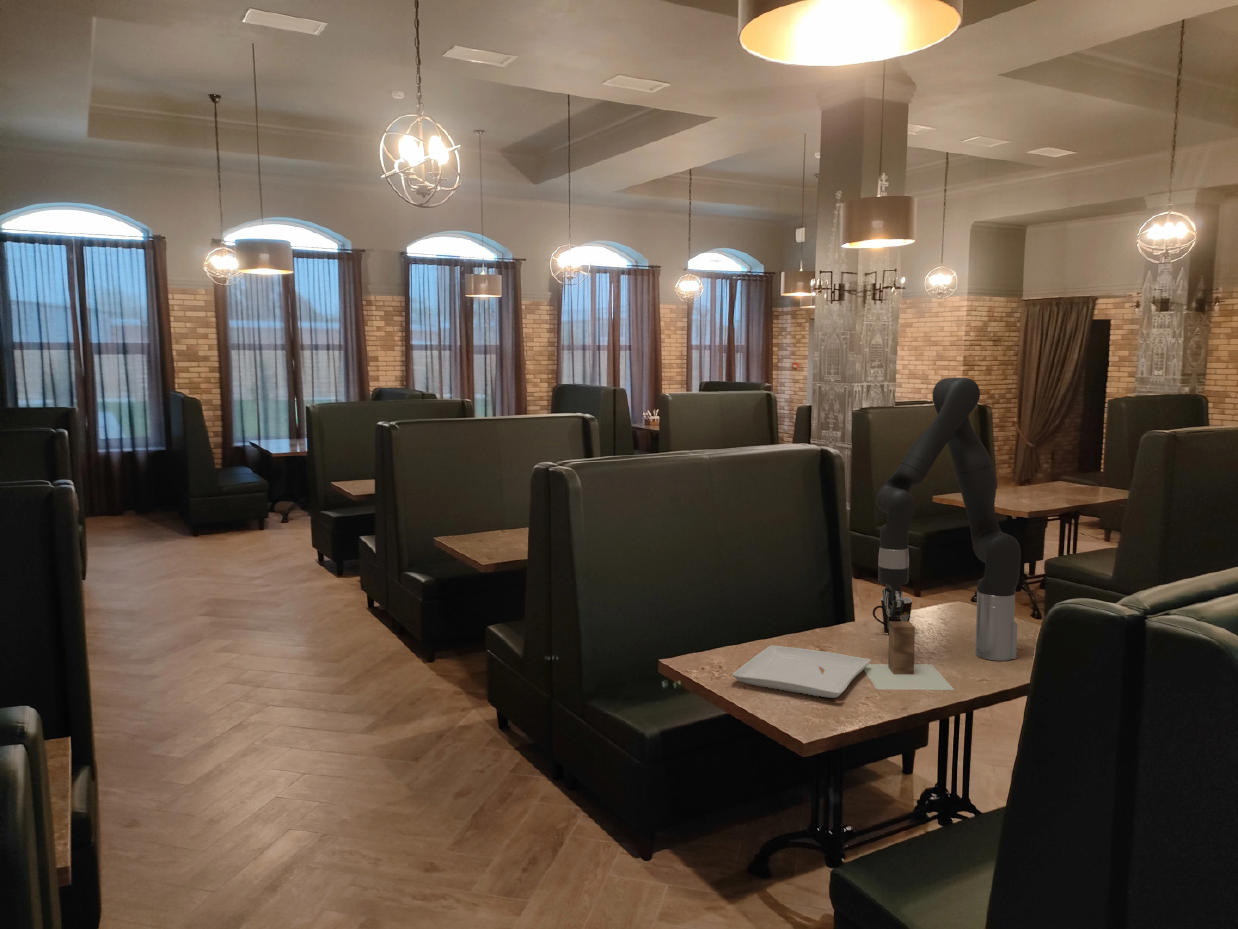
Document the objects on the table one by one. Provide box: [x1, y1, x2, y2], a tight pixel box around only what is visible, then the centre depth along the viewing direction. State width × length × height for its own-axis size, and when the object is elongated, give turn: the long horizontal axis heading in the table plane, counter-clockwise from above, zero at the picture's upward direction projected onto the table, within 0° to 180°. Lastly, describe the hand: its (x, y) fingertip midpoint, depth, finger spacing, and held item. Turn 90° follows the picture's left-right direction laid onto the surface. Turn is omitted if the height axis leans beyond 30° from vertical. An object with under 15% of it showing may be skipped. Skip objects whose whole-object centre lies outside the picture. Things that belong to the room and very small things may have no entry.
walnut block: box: [887, 621, 916, 674], centre depth 217 cm, size 5×5×12 cm
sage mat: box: [863, 663, 955, 691], centre depth 214 cm, size 18×18×1 cm
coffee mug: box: [872, 596, 913, 634], centre depth 250 cm, size 12×9×10 cm
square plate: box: [731, 644, 872, 699], centre depth 215 cm, size 27×27×4 cm
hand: (892, 629), depth 225 cm, fingers closed
